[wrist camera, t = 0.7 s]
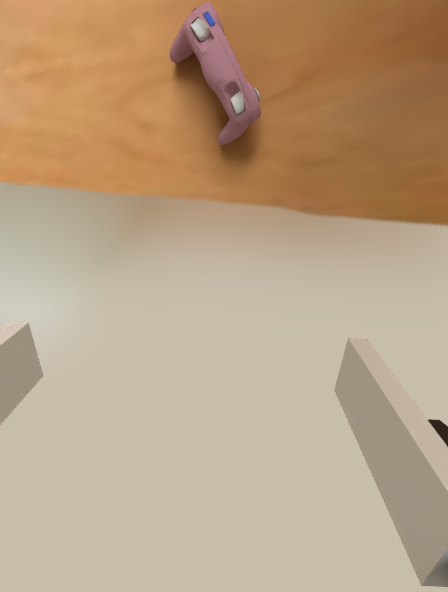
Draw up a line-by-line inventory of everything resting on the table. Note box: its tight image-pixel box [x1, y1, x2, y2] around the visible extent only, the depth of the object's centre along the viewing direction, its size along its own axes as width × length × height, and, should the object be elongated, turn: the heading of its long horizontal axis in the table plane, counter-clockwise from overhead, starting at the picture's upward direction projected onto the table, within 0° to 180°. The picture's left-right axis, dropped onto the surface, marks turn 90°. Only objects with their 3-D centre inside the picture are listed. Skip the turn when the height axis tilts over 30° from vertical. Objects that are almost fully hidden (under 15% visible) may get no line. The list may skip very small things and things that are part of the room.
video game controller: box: [170, 2, 261, 145], centre depth 27 cm, size 10×5×7 cm, turn 32°
